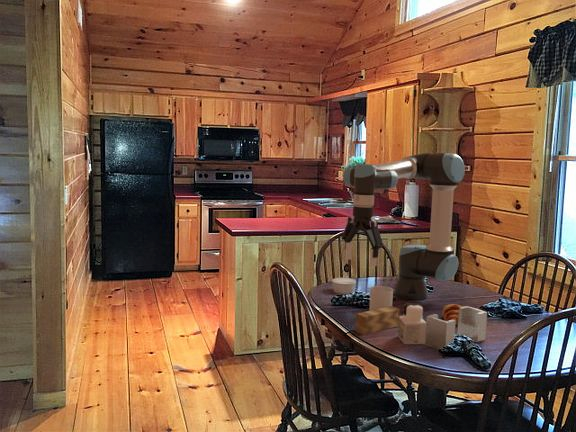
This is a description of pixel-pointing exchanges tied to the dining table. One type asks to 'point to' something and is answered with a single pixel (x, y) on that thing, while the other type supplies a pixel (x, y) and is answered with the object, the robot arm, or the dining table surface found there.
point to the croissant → (451, 312)
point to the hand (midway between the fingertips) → (360, 262)
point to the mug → (380, 297)
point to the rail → (377, 320)
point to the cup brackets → (444, 331)
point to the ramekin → (343, 285)
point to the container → (412, 325)
